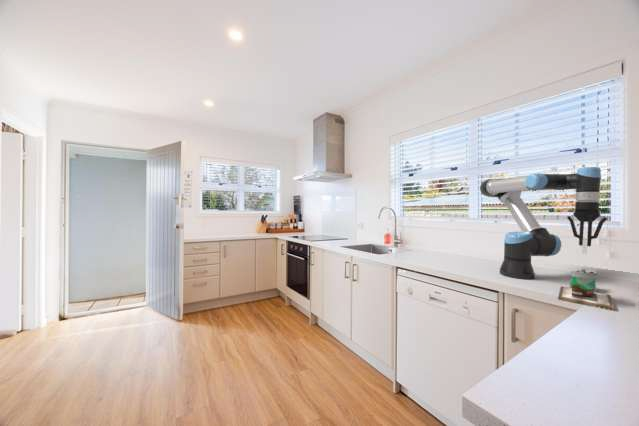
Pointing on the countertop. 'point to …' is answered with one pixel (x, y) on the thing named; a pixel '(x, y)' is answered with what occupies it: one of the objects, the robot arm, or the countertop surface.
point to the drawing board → (587, 299)
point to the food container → (584, 282)
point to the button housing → (571, 285)
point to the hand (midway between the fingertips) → (584, 253)
